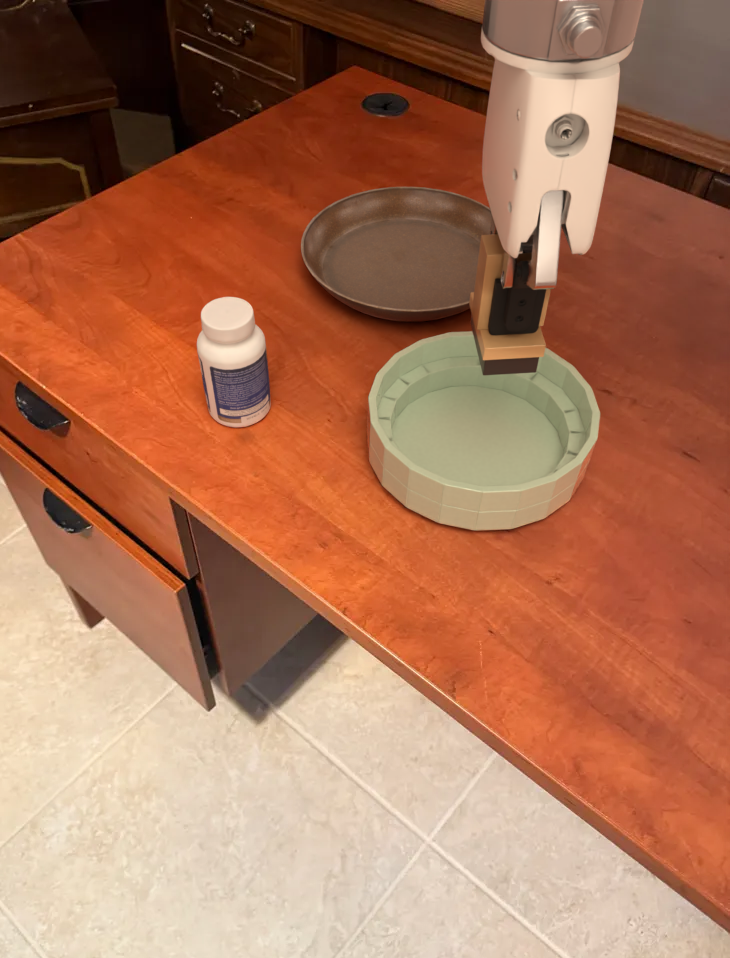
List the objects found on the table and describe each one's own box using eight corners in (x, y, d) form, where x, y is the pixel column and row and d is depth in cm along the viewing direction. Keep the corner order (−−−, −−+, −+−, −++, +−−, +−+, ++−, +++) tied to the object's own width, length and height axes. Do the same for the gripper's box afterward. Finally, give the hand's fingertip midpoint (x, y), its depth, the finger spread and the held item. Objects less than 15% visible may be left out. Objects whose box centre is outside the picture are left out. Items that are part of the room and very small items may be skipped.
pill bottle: (284, 405, 70) (277, 310, 62) (238, 439, 67) (225, 345, 60) (240, 376, 72) (228, 281, 64) (194, 408, 70) (176, 313, 62)
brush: (464, 321, 59) (476, 217, 52) (525, 318, 59) (545, 213, 52) (477, 378, 55) (492, 273, 49) (542, 374, 55) (566, 269, 49)
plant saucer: (333, 200, 88) (333, 171, 86) (527, 227, 85) (533, 197, 82) (275, 319, 77) (272, 289, 74) (497, 357, 73) (503, 327, 70)
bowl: (558, 373, 72) (571, 327, 68) (607, 530, 61) (625, 486, 57) (360, 381, 71) (361, 335, 67) (375, 539, 61) (378, 496, 57)
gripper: (688, 78, 36) (593, 396, 50) (597, -54, 45) (539, 245, 60) (514, 88, 36) (470, 403, 50) (461, -46, 45) (436, 251, 60)
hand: (508, 315), depth 55 cm, fingers closed on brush, 2 cm apart
